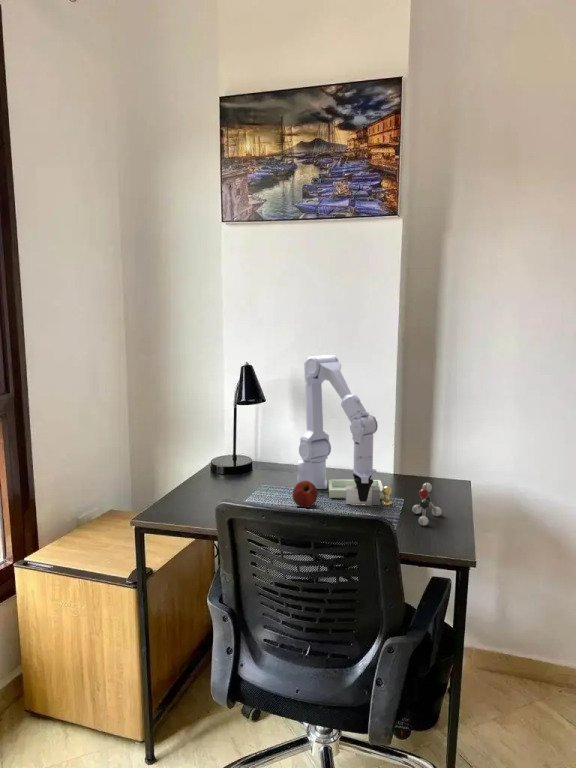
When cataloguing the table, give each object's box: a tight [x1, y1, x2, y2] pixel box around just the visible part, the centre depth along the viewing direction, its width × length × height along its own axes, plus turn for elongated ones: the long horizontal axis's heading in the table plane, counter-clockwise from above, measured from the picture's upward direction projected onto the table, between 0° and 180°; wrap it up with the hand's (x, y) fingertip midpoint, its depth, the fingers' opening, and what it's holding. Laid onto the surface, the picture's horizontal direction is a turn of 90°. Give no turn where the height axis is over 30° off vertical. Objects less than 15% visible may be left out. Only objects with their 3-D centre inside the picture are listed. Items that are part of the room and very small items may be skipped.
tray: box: [327, 479, 384, 500], centre depth 189 cm, size 17×11×3 cm, turn 87°
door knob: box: [381, 485, 392, 506], centre depth 179 cm, size 3×3×6 cm
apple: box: [292, 481, 318, 508], centre depth 176 cm, size 7×8×8 cm
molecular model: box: [411, 482, 442, 527], centre depth 165 cm, size 8×12×11 cm
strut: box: [345, 486, 381, 506], centre depth 179 cm, size 10×4×5 cm, turn 87°
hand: (362, 499), depth 179 cm, fingers closed on strut, 3 cm apart
